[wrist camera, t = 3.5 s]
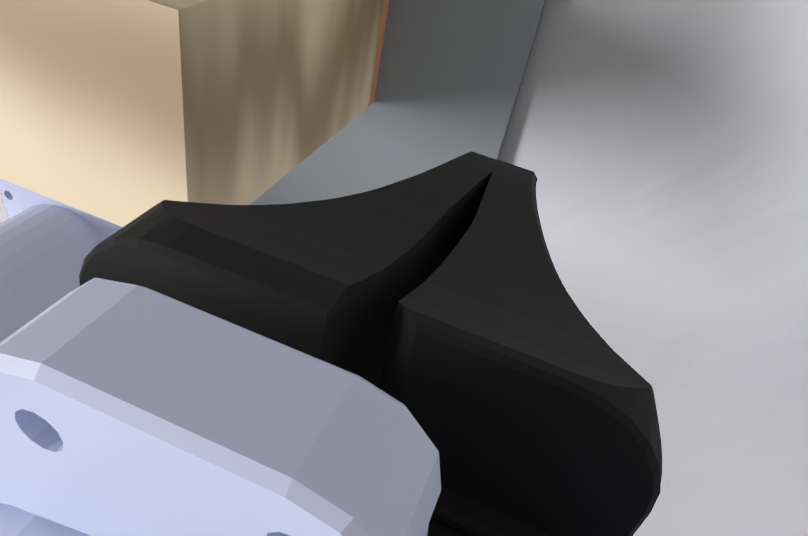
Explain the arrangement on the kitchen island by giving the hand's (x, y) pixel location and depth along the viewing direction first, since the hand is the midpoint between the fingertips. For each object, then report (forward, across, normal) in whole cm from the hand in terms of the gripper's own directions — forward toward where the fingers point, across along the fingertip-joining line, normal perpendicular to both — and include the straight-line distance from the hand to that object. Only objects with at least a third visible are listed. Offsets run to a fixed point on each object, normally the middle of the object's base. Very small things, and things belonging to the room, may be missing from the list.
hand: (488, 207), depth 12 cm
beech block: (+8, +8, 0) cm, 12 cm away
